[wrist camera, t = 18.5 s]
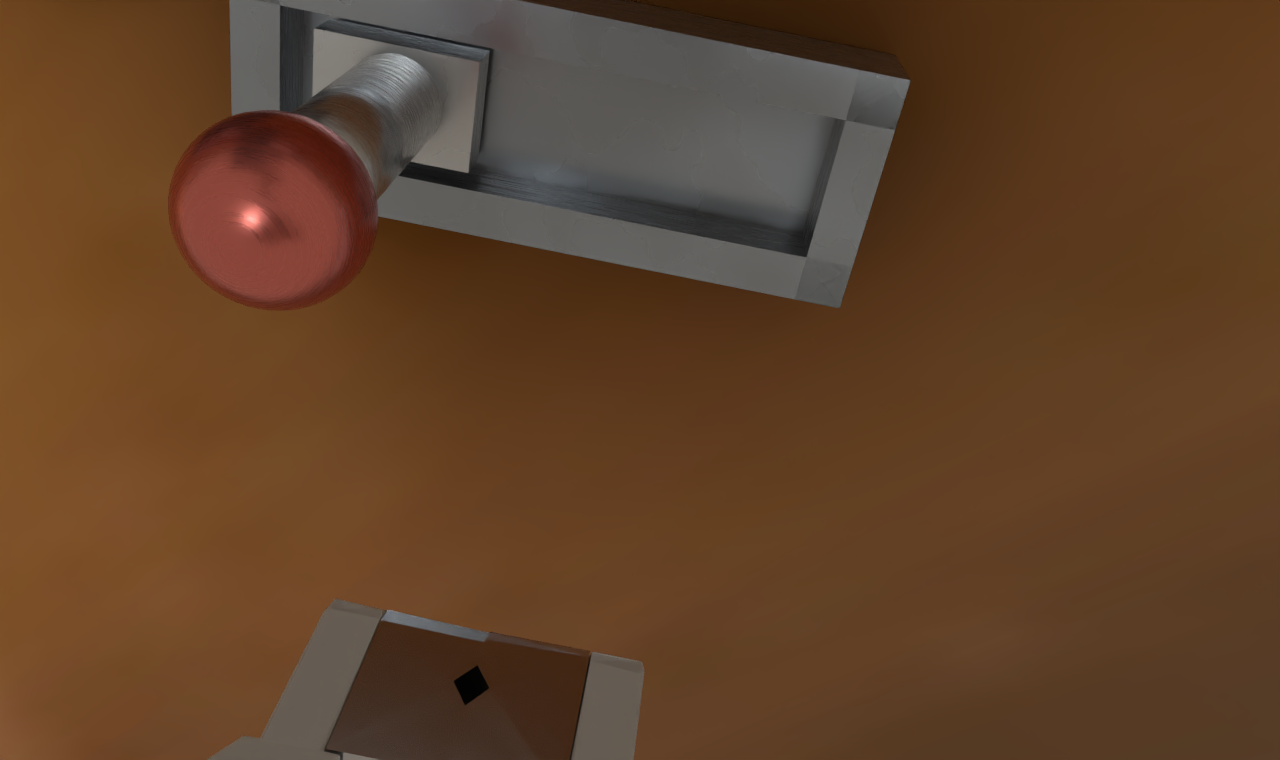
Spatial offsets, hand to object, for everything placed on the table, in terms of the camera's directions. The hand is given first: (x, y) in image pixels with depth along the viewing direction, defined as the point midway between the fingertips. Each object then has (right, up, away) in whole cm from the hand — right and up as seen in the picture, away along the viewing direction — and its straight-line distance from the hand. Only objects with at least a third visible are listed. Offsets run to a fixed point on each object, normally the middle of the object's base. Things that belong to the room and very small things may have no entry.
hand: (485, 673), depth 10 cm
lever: (-4, +10, +16) cm, 20 cm away
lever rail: (0, +10, +18) cm, 20 cm away
